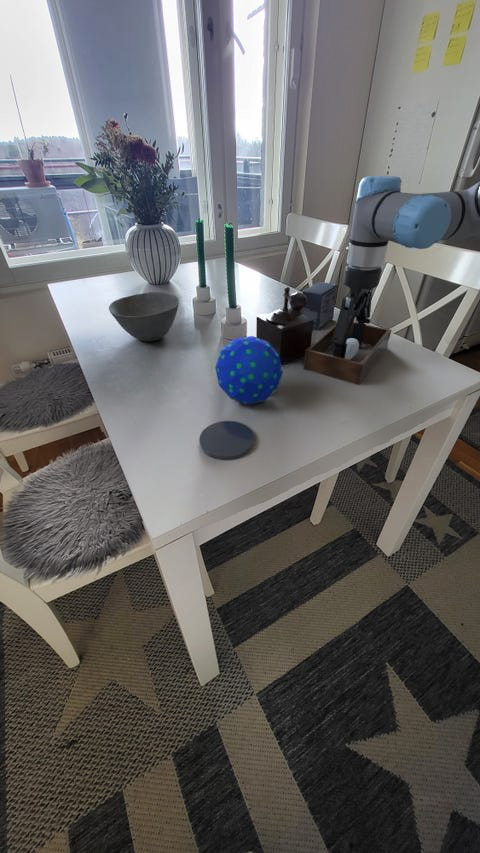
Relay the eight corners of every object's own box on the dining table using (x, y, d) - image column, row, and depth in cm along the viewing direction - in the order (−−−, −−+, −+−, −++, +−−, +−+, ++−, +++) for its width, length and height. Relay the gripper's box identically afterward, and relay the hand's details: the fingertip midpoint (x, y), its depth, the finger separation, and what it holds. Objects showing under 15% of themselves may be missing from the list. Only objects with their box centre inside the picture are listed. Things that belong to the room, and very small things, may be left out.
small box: (314, 314, 110) (318, 280, 103) (333, 319, 107) (338, 283, 100) (298, 326, 103) (301, 290, 97) (318, 330, 100) (323, 294, 94)
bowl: (174, 320, 109) (169, 287, 103) (191, 343, 96) (187, 307, 89) (113, 331, 104) (104, 297, 97) (123, 357, 90) (113, 320, 84)
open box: (386, 347, 91) (391, 329, 88) (358, 385, 77) (363, 365, 74) (337, 336, 97) (340, 319, 94) (303, 369, 83) (305, 350, 80)
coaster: (264, 435, 64) (264, 432, 64) (233, 467, 58) (233, 464, 57) (221, 417, 69) (221, 414, 68) (188, 446, 62) (187, 443, 62)
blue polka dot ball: (252, 335, 80) (273, 315, 66) (278, 390, 82) (305, 382, 67) (198, 360, 77) (208, 346, 63) (226, 417, 79) (242, 415, 64)
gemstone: (371, 348, 85) (361, 338, 82) (358, 370, 86) (347, 362, 83) (353, 342, 90) (342, 333, 86) (340, 363, 91) (329, 355, 87)
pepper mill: (252, 351, 91) (252, 279, 80) (285, 340, 96) (289, 271, 85) (290, 375, 81) (296, 297, 70) (325, 362, 86) (336, 287, 74)
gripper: (365, 251, 83) (349, 336, 96) (324, 277, 67) (312, 374, 81) (397, 255, 79) (376, 342, 93) (362, 283, 64) (342, 383, 77)
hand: (346, 357), depth 87 cm, fingers open, 12 cm apart
